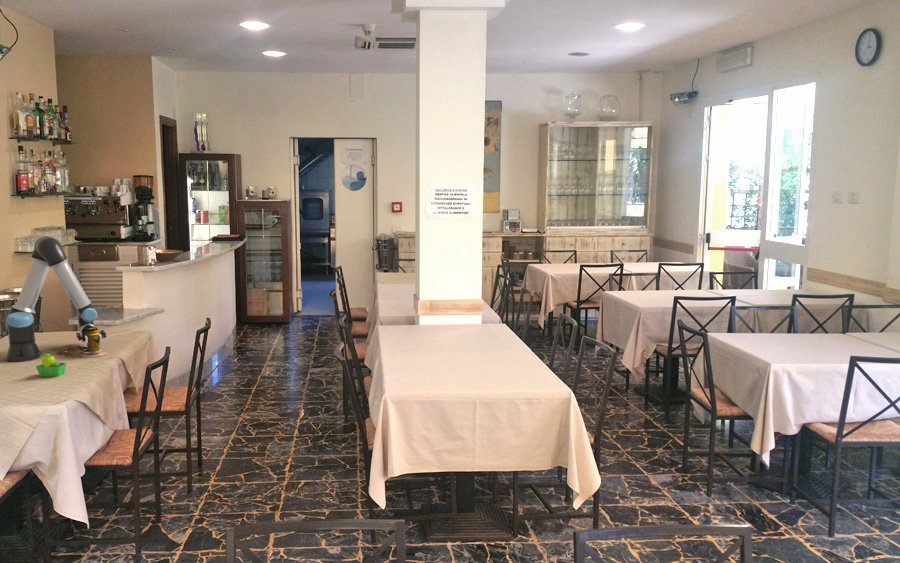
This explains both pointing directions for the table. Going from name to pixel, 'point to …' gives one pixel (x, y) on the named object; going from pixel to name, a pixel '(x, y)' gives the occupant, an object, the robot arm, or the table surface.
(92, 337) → the condiment
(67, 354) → the dark brown openwork trivet
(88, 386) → the table surface
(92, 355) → the serving plate
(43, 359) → the fruit basket
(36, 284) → the robot arm
